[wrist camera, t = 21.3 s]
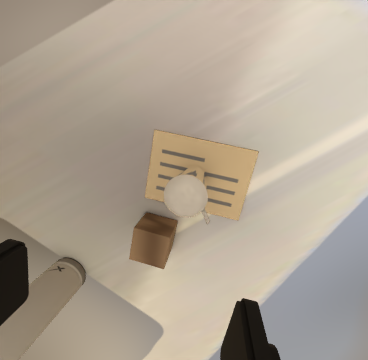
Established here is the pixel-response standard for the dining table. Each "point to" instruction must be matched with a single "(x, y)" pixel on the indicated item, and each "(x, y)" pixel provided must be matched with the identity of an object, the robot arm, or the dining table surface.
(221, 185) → the letter
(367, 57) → the dining table surface
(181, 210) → the milkshake
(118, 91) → the dining table surface
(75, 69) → the dining table surface
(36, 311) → the travel mug
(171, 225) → the walnut block
